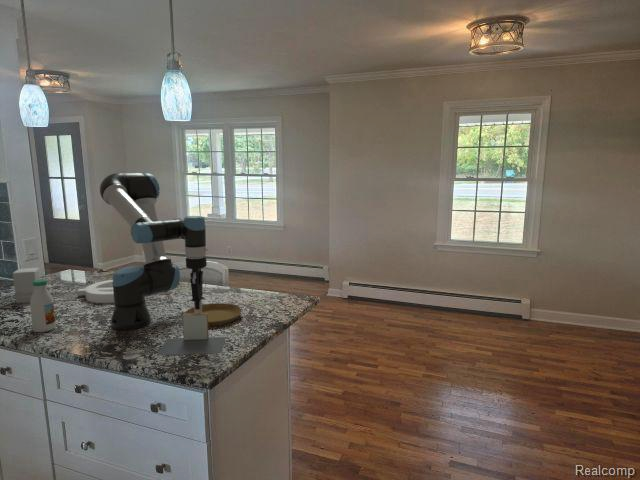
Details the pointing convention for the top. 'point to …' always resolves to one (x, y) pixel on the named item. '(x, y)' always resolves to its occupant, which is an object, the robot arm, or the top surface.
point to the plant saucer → (219, 313)
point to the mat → (192, 346)
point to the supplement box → (25, 283)
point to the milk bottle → (42, 308)
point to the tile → (195, 326)
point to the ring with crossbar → (99, 292)
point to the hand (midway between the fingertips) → (198, 316)
